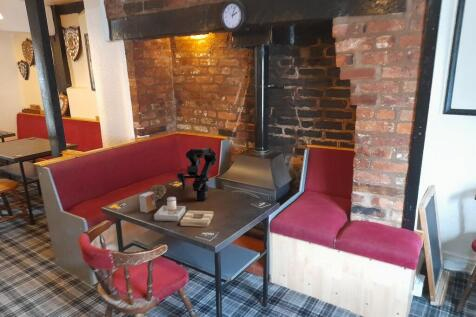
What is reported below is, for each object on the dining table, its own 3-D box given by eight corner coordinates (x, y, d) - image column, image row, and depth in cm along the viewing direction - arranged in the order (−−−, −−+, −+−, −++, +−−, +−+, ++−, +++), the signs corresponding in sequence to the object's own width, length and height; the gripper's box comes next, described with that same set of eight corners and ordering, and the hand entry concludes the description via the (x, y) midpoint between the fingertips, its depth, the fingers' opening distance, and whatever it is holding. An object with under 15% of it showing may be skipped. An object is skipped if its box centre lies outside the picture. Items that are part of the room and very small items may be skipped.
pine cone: (159, 195, 234) (157, 181, 231) (170, 197, 229) (168, 183, 227) (135, 206, 215) (133, 191, 213) (146, 208, 211) (145, 193, 208)
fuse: (169, 213, 200) (168, 196, 197) (178, 213, 199) (177, 196, 196) (166, 217, 195) (165, 199, 192) (175, 217, 194) (174, 200, 192)
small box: (146, 213, 204) (145, 196, 201) (140, 211, 206) (138, 195, 204) (156, 208, 210) (155, 192, 208) (149, 207, 213) (148, 191, 211)
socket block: (188, 214, 200) (188, 210, 200) (213, 215, 198) (213, 211, 197) (180, 225, 186) (180, 221, 185) (207, 226, 184) (207, 222, 183)
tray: (163, 210, 206) (162, 205, 206) (185, 211, 205) (185, 206, 204) (154, 220, 193) (154, 214, 192) (178, 221, 191) (178, 215, 190)
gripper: (176, 159, 204) (172, 183, 196) (207, 160, 202) (203, 183, 194) (181, 169, 214) (177, 191, 206) (210, 169, 211) (207, 192, 203)
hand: (191, 189), depth 202 cm, fingers open, 9 cm apart
